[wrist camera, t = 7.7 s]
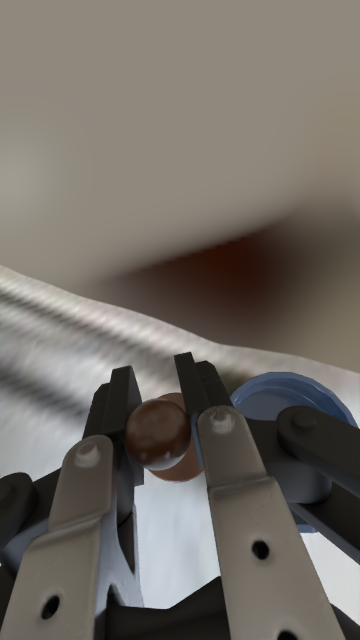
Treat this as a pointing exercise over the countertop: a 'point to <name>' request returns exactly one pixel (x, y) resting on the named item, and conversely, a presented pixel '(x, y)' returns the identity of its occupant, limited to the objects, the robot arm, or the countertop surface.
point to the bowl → (287, 405)
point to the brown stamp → (163, 439)
